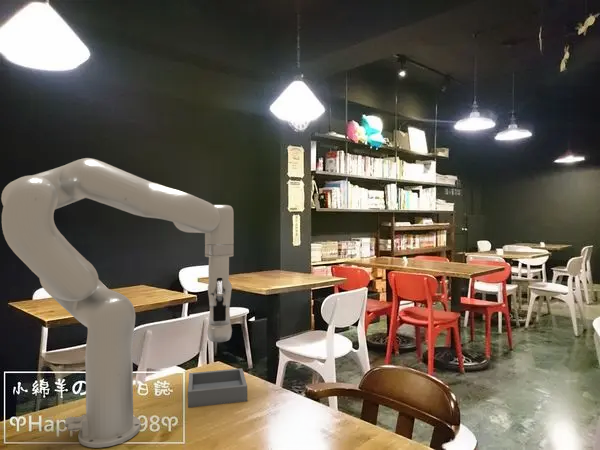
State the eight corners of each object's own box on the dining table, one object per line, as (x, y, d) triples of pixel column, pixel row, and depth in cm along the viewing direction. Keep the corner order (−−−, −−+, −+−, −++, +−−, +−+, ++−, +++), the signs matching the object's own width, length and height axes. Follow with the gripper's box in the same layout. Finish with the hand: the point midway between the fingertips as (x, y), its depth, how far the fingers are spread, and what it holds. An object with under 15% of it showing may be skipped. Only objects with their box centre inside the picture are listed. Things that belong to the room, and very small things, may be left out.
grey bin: (188, 407, 104) (187, 391, 104) (189, 387, 116) (189, 373, 116) (247, 401, 107) (247, 385, 107) (242, 381, 120) (242, 368, 120)
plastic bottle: (223, 336, 115) (223, 265, 115) (236, 342, 110) (236, 267, 110) (202, 340, 111) (202, 267, 111) (215, 346, 106) (215, 269, 106)
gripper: (205, 248, 118) (205, 311, 118) (204, 253, 101) (204, 327, 101) (232, 248, 119) (232, 310, 120) (235, 253, 102) (235, 325, 103)
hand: (219, 317), depth 110 cm, fingers closed on plastic bottle, 5 cm apart
